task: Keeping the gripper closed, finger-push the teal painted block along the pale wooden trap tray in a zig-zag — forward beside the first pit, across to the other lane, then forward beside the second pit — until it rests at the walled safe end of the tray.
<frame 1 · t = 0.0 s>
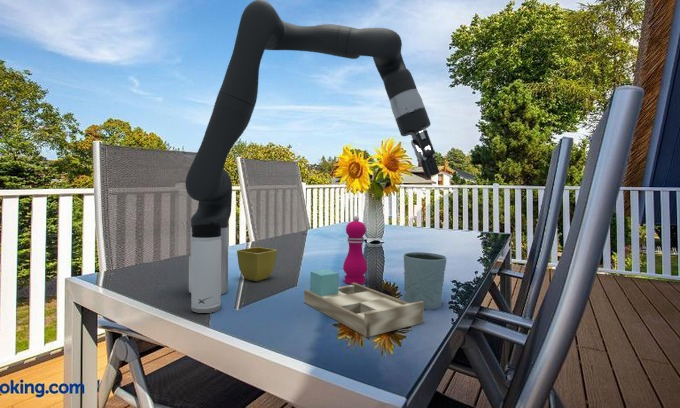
hand: (432, 175, 88), 31 cm above the table, tool tilted 20°, fingers open, 8 cm apart
teal block: (324, 292, 89), point 2 cm above the table, touching trap tray
travel mug: (206, 310, 82), on the table
grey green cup: (423, 305, 89), on the table
flower pot: (256, 279, 111), on the table
trap tray: (359, 311, 83), on the table
pepper mill: (354, 282, 110), on the table
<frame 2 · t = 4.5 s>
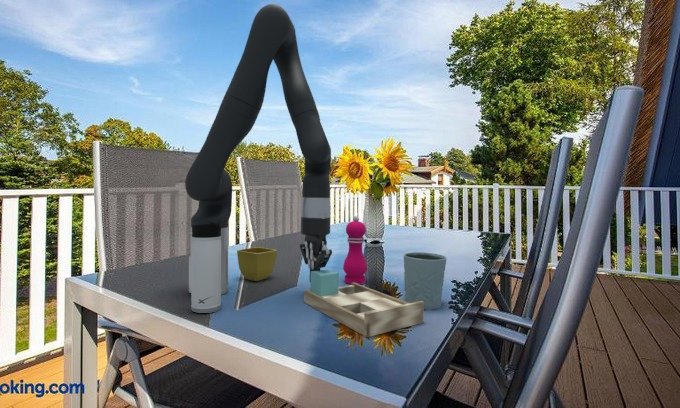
hand: (314, 282, 93), 4 cm above the table, tool pointing down, fingers closed
teal block: (324, 292, 89), point 2 cm above the table, touching gripper, trap tray
everything else where it was.
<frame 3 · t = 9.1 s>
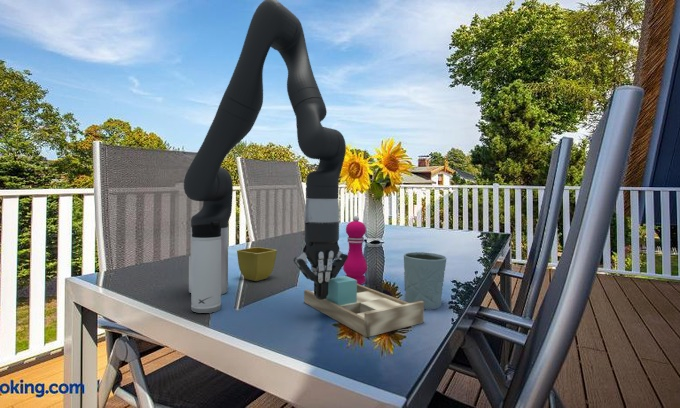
hand: (320, 298, 80), 4 cm above the table, tool pointing down, fingers closed
teal block: (341, 301, 82), point 2 cm above the table, touching gripper, trap tray
everything else where it was.
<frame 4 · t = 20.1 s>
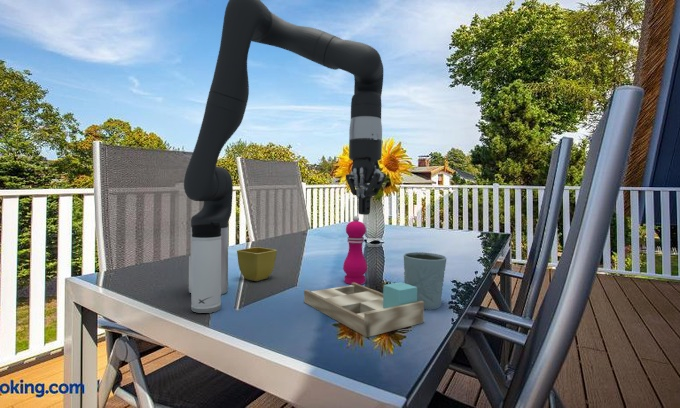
hand: (364, 214, 84), 22 cm above the table, tool pointing down, fingers closed
teal block: (399, 309, 77), point 2 cm above the table, touching trap tray
everything else where it was.
at the end: teal block inside the target area on the trap tray (3.9 cm from its centre), point 2.4 cm above the trap tray's base; teal block tilted 0° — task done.
